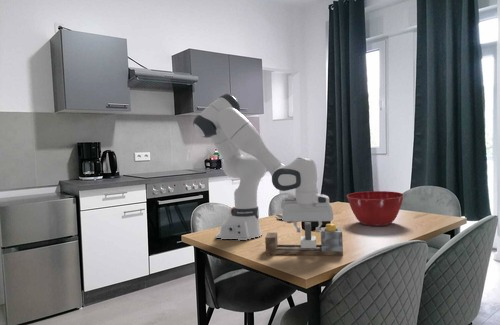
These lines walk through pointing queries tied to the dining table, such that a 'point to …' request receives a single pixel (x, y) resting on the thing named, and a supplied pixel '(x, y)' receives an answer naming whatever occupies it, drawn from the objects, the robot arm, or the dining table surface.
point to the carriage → (308, 237)
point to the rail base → (329, 246)
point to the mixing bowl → (375, 206)
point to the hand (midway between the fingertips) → (308, 232)
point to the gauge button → (330, 227)
